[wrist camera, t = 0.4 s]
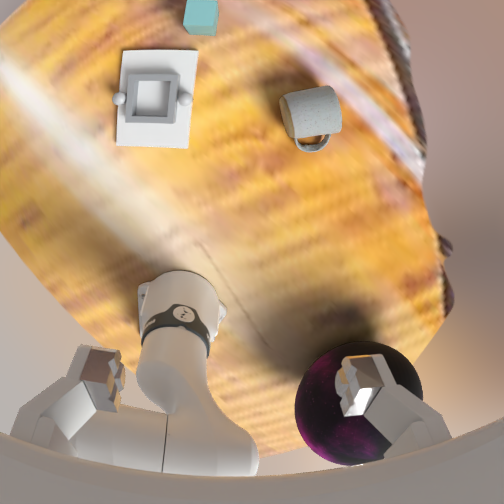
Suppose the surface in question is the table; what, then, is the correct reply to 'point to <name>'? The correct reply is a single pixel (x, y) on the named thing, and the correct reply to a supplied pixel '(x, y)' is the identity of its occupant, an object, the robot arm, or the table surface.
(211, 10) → the block
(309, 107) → the ceramic mug
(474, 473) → the robot arm
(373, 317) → the table surface
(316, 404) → the black purple ball
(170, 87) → the housing plate
